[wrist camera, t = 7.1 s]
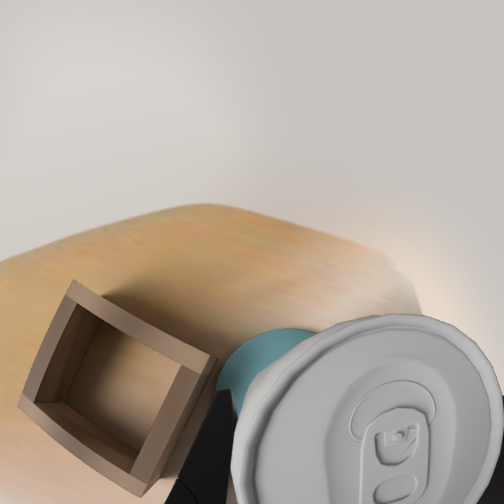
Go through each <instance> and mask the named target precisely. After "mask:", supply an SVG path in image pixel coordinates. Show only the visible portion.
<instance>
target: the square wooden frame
mask: <svg viewBox="0 0 504 504" xmlns="http://www.w3.org/2000/svg"><path fill="white" fill-rule="evenodd" d="M102 319H103V320H104V321H106V322H107V323H109V324H111V325H112V326H114V327H116V328H117V329H119V330H120V331H122V332H124V333H125V334H127V335H129V336H131V337H132V338H134V339H136V340H137V341H139V342H141V343H143V344H144V345H146V346H148V347H150V348H152V349H153V350H155V351H157V352H159V353H161V354H163V355H164V356H166V357H168V358H170V359H172V360H174V361H176V362H178V363H180V364H182V365H181V367H180V369H179V371H178V373H177V375H176V377H175V379H174V381H173V384H172V386H171V388H170V390H169V392H168V394H167V396H166V398H165V400H164V402H163V404H162V406H161V409H160V411H159V413H158V415H157V417H156V419H155V421H154V423H153V425H152V427H151V430H150V432H149V434H148V436H147V438H146V440H145V442H144V444H143V446H142V449H141V451H140V453H138V452H137V451H135V450H133V449H131V448H130V447H128V446H127V445H125V444H123V443H122V442H120V441H118V440H117V439H115V438H114V437H112V436H111V435H109V434H108V433H106V432H105V431H103V430H102V429H100V428H99V427H97V426H96V425H94V424H93V423H92V422H90V421H89V420H87V419H86V418H85V417H83V416H82V415H81V414H79V413H78V412H77V411H75V410H74V409H73V408H71V407H70V406H69V405H67V404H66V403H65V400H66V397H67V395H68V392H69V390H70V388H71V385H72V383H73V381H74V378H75V376H76V374H77V372H78V369H79V367H80V365H81V363H82V361H83V358H84V356H85V354H86V352H87V350H88V348H89V346H90V343H91V341H92V339H93V337H94V335H95V333H96V331H97V329H98V327H99V325H100V323H101V321H102ZM216 361H217V359H216V358H214V357H212V356H211V355H209V354H206V353H204V352H202V351H200V350H198V349H196V348H194V347H192V346H190V345H188V344H186V343H184V342H182V341H180V340H178V339H176V338H174V337H172V336H170V335H168V334H167V333H165V332H163V331H161V330H159V329H157V328H155V327H153V326H152V325H150V324H148V323H146V322H144V321H142V320H141V319H139V318H137V317H135V316H134V315H132V314H130V313H128V312H127V311H125V310H123V309H121V308H120V307H118V306H116V305H115V304H113V303H111V302H109V301H108V300H106V299H104V298H103V297H101V296H100V295H98V294H96V293H95V292H93V291H91V290H90V289H88V288H87V287H85V286H84V285H82V284H80V283H79V282H77V281H76V280H74V279H73V281H72V282H71V284H70V286H69V288H68V290H67V292H66V294H65V296H64V298H63V300H62V302H61V304H60V306H59V308H58V310H57V312H56V314H55V316H54V318H53V320H52V322H51V324H50V326H49V328H48V331H47V333H46V335H45V337H44V339H43V342H42V344H41V346H40V349H39V351H38V353H37V356H36V358H35V360H34V363H33V365H32V368H31V370H30V373H29V375H28V378H27V381H26V383H25V386H24V389H23V391H22V394H21V397H20V400H19V403H18V407H19V408H20V409H21V410H22V411H23V412H24V413H25V414H26V415H27V416H28V417H29V418H30V419H31V420H33V421H34V422H35V423H36V424H37V425H38V426H39V427H40V428H41V429H43V430H44V431H45V432H46V433H47V434H48V435H50V436H51V437H52V438H53V439H54V440H56V441H57V442H58V443H59V444H60V445H62V446H63V447H64V448H65V449H67V450H68V451H69V452H71V453H72V454H73V455H75V456H76V457H77V458H79V459H80V460H81V461H83V462H84V463H86V464H87V465H88V466H90V467H91V468H93V469H94V470H96V471H97V472H99V473H100V474H102V475H103V476H105V477H106V478H108V479H109V480H111V481H112V482H114V483H116V484H117V485H119V486H120V487H122V488H124V489H125V490H127V491H129V492H131V493H132V494H134V495H136V496H138V497H139V498H141V497H142V496H143V495H144V494H145V493H146V492H147V491H148V490H149V489H150V488H151V487H152V486H153V485H154V484H155V483H156V482H157V481H158V480H159V478H160V476H161V474H162V472H163V470H164V468H165V466H166V464H167V462H168V460H169V458H170V456H171V454H172V452H173V450H174V448H175V446H176V444H177V442H178V440H179V438H180V436H181V434H182V432H183V430H184V428H185V425H186V423H187V421H188V419H189V417H190V415H191V413H192V411H193V409H194V407H195V405H196V403H197V401H198V399H199V397H200V395H201V393H202V390H203V388H204V386H205V384H206V382H207V380H208V378H209V376H210V374H211V372H212V370H213V368H214V365H215V363H216Z"/></svg>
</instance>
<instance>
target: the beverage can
mask: <svg viewBox="0 0 504 504" xmlns="http://www.w3.org/2000/svg"><path fill="white" fill-rule="evenodd" d="M503 431H504V409H503V399H502V392H501V389H500V386H499V383H498V380H497V377H496V374H495V372H494V369H493V367H492V365H491V363H490V362H489V360H488V359H487V357H486V356H485V355H484V353H483V352H482V350H481V349H480V348H479V346H478V345H477V344H476V342H474V341H473V340H472V339H470V338H469V337H468V336H466V335H465V334H464V333H463V332H461V331H460V330H459V329H457V328H456V327H455V326H453V325H451V324H448V323H445V322H442V321H439V320H437V319H434V318H431V317H428V316H425V315H407V314H388V315H384V316H377V315H372V316H368V317H363V318H359V319H355V320H350V321H346V322H341V323H338V324H336V325H334V326H332V327H330V328H328V329H326V330H324V331H322V332H320V333H318V334H316V335H314V336H312V337H310V338H308V339H306V340H304V341H302V342H300V343H299V344H298V345H296V346H295V347H294V348H292V349H291V350H290V351H288V352H287V353H285V354H284V355H283V356H281V357H280V358H279V359H277V360H276V361H274V362H273V363H271V364H270V365H269V366H267V367H266V368H265V369H263V370H262V371H261V372H260V373H258V374H257V375H256V377H255V378H254V379H253V381H252V382H251V383H250V385H249V387H248V390H247V392H246V395H245V398H244V401H243V405H242V408H241V412H240V415H239V419H238V422H237V426H236V429H235V433H234V442H233V450H232V459H231V473H232V478H233V483H234V488H235V493H236V497H237V502H238V504H477V502H478V501H479V499H480V497H481V496H482V494H483V492H484V491H485V489H486V487H487V486H488V484H489V482H490V479H491V477H492V474H493V472H494V469H495V466H496V464H497V461H498V458H499V455H500V451H501V445H502V438H503Z"/></svg>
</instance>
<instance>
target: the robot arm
mask: <svg viewBox="0 0 504 504" xmlns="http://www.w3.org/2000/svg"><path fill="white" fill-rule="evenodd" d="M502 399H503V409H504V396H503V395H502ZM237 422H238V413H237V408H236V404H235V400H234V397H233V393H232V390H231V389H230V388H226V389H220V390H218V391H217V392H216V394H215V396H214V398H213V401H212V403H211V405H210V407H209V409H208V412H207V414H206V416H205V418H204V421H203V423H202V425H201V427H200V429H199V432H198V434H197V436H196V438H195V441H194V443H193V445H192V447H191V449H190V451H189V454H188V456H187V458H186V460H185V462H184V464H183V467H182V469H181V471H180V473H179V475H178V478H179V479H176V481H175V484H174V486H173V488H172V490H171V492H170V494H169V496H168V498H167V499H166V501H165V503H164V504H238V502H237V497H236V493H235V488H234V483H233V478H232V473H231V459H232V450H233V442H234V433H235V429H236V426H237ZM477 504H504V431H503V438H502V445H501V451H500V455H499V458H498V461H497V464H496V466H495V469H494V472H493V474H492V477H491V479H490V482H489V484H488V486H487V487H486V489H485V491H484V492H483V494H482V496H481V497H480V499H479V501H478V502H477Z"/></svg>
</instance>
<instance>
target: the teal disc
mask: <svg viewBox="0 0 504 504" xmlns="http://www.w3.org/2000/svg"><path fill="white" fill-rule="evenodd" d="M314 335H316V334H314V333H311V332H308V331H303V330H298V329H278V330H273V331H269V332H265V333H262V334H260V335H257V336H255V337H253V338H251V339H250V340H248V341H246V342H245V343H244V344H242V345H241V346H240V347H239V348H237V349H236V350H235V351H234V352H233V354H232V355H231V356H230V357H229V358H228V360H227V361H226V362H225V364H224V366H223V368H222V370H221V372H220V374H219V377H218V380H217V384H216V388H215V394H216V392H217V391H218V390H220V389H226V388H230V389H231V390H232V393H233V397H234V400H235V404H236V408H237V413H238V419H239V415H240V412H241V408H242V405H243V401H244V398H245V395H246V392H247V390H248V387H249V385H250V383H251V382H252V381H253V379H254V378H255V377H256V375H257V374H258V373H260V372H261V371H262V370H263V369H265V368H266V367H267V366H269V365H270V364H271V363H273V362H274V361H276V360H277V359H279V358H280V357H281V356H283V355H284V354H285V353H287V352H288V351H290V350H291V349H292V348H294V347H295V346H296V345H298V344H299V343H300V342H302V341H304V340H306V339H308V338H310V337H312V336H314Z"/></svg>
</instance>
